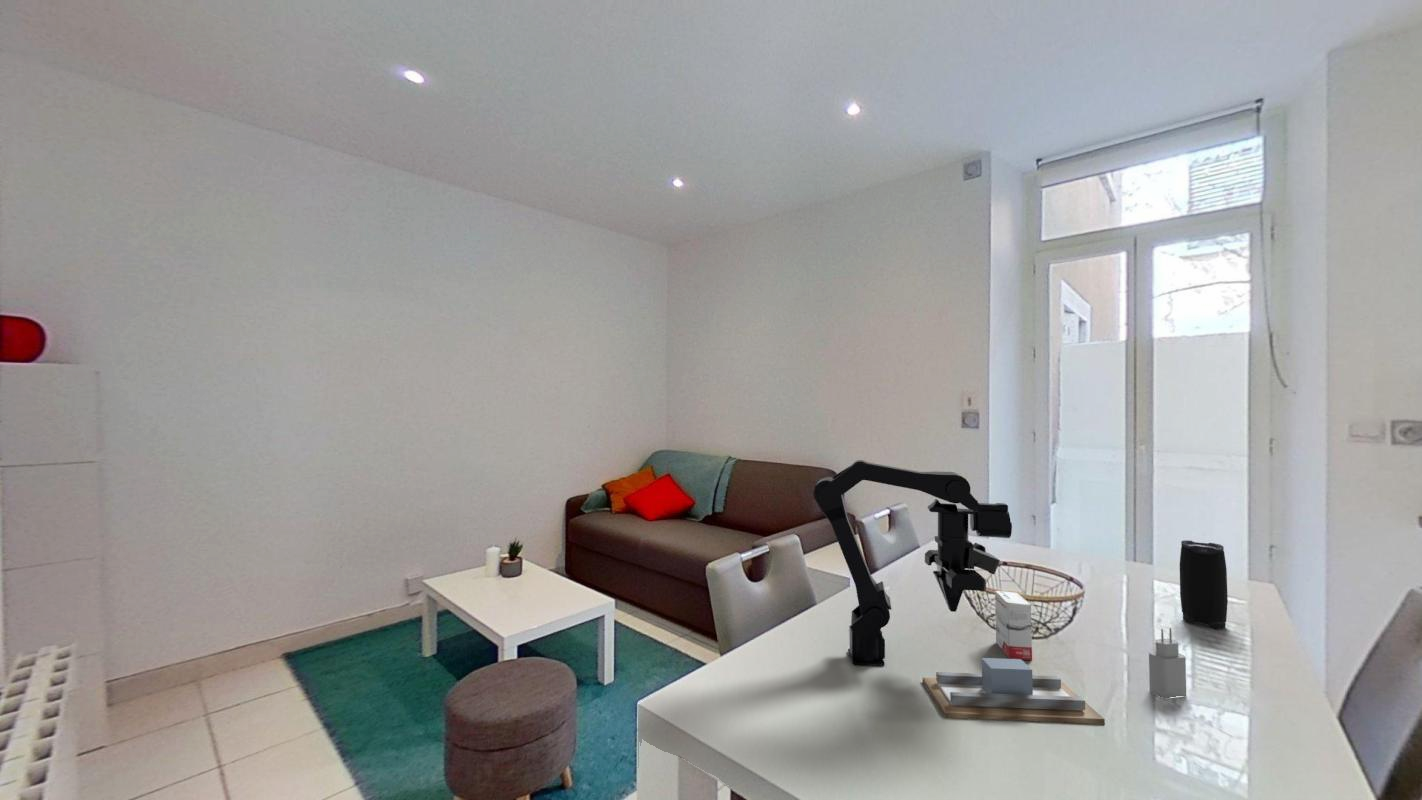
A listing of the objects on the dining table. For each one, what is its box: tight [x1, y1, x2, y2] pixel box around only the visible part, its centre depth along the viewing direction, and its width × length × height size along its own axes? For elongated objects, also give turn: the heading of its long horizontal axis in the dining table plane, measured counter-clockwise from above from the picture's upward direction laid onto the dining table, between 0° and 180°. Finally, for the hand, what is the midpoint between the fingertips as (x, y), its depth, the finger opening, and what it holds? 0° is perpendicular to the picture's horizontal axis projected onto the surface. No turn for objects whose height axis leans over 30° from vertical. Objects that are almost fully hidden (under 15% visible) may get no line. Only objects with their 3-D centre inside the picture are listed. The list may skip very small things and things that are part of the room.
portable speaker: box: [1179, 539, 1229, 630], centre depth 130 cm, size 9×9×20 cm
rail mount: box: [922, 671, 1106, 725], centre depth 96 cm, size 26×12×3 cm, turn 85°
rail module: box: [981, 657, 1033, 695], centre depth 96 cm, size 7×4×6 cm, turn 85°
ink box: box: [994, 590, 1033, 661], centre depth 116 cm, size 9×5×12 cm, turn 168°
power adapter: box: [1148, 627, 1187, 699], centre depth 98 cm, size 3×5×12 cm, turn 101°
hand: (952, 610), depth 108 cm, fingers closed
